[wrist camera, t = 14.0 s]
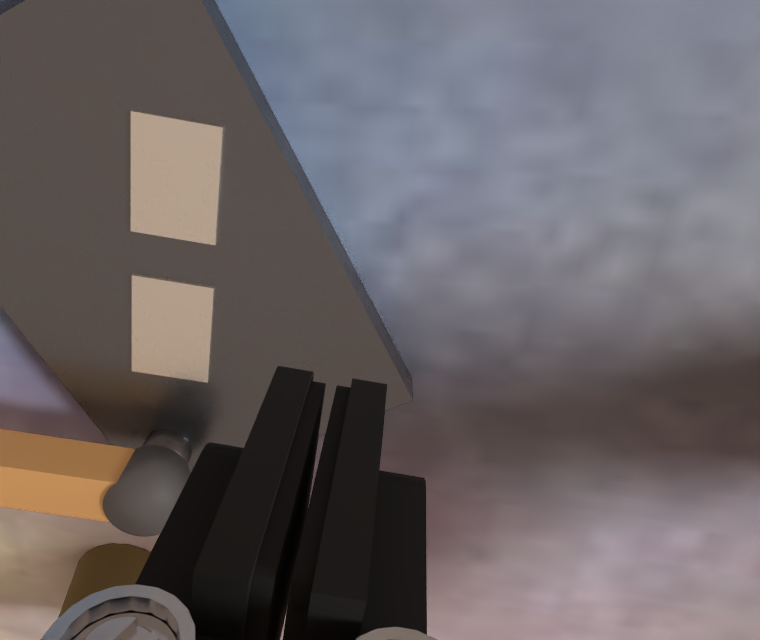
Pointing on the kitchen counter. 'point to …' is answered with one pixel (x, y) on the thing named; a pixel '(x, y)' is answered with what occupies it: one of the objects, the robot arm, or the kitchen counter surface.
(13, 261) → the plate
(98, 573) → the cork
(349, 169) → the kitchen counter surface
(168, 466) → the wooden bar
